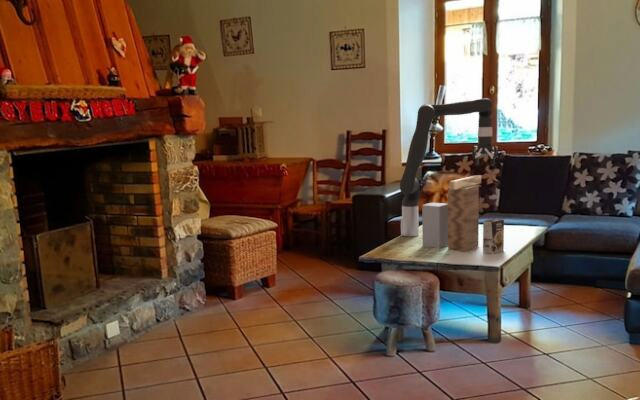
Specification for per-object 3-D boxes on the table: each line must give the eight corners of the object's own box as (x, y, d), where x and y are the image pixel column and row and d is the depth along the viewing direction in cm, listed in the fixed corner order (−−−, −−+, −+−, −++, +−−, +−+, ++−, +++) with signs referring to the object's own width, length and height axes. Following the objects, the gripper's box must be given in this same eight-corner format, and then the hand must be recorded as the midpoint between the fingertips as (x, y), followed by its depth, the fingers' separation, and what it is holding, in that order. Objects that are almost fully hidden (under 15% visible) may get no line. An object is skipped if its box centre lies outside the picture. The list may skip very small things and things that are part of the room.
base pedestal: (422, 246, 324) (422, 205, 321) (432, 242, 332) (431, 202, 329) (439, 248, 318) (439, 206, 315) (448, 244, 326) (448, 203, 322)
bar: (450, 189, 305) (450, 181, 304) (475, 182, 326) (475, 175, 325) (455, 189, 303) (455, 181, 302) (481, 183, 324) (481, 175, 323)
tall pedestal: (448, 249, 315) (447, 187, 310) (460, 244, 325) (460, 184, 320) (465, 252, 308) (465, 189, 304) (478, 246, 319) (478, 185, 314)
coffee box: (493, 254, 302) (493, 222, 300) (482, 252, 307) (482, 220, 305) (504, 251, 308) (504, 219, 305) (493, 249, 313) (493, 217, 310)
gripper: (469, 135, 333) (469, 165, 336) (494, 136, 324) (494, 166, 326) (476, 135, 339) (476, 164, 341) (500, 135, 330) (500, 165, 332)
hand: (485, 165), depth 334 cm, fingers open, 8 cm apart
